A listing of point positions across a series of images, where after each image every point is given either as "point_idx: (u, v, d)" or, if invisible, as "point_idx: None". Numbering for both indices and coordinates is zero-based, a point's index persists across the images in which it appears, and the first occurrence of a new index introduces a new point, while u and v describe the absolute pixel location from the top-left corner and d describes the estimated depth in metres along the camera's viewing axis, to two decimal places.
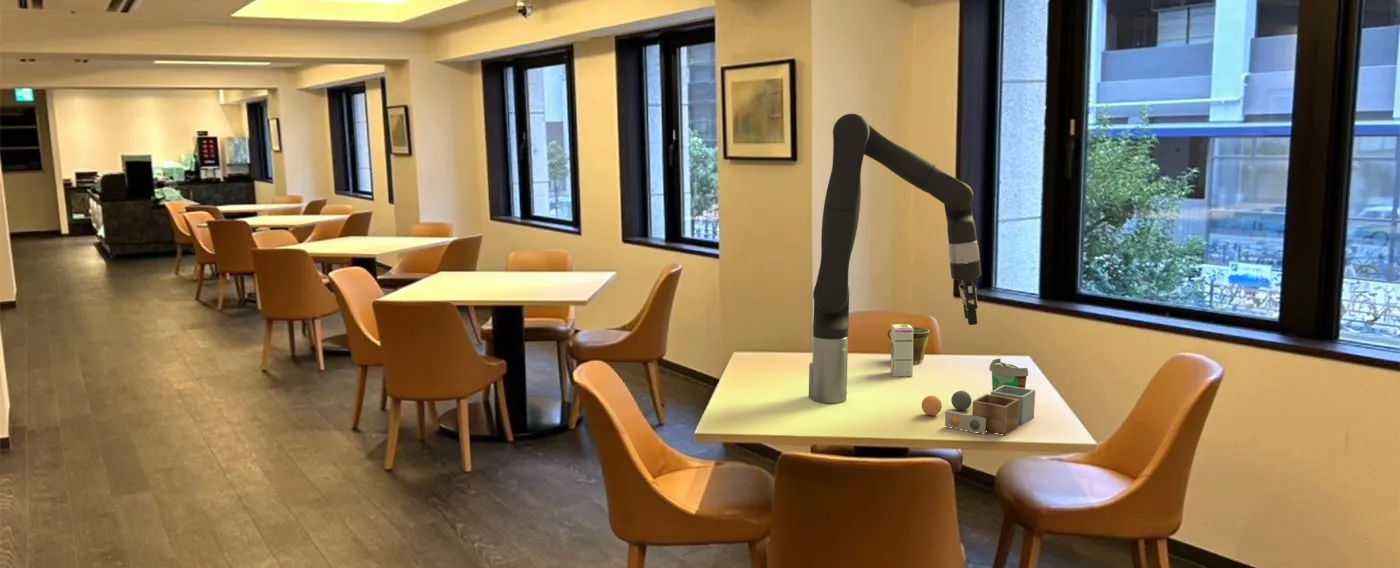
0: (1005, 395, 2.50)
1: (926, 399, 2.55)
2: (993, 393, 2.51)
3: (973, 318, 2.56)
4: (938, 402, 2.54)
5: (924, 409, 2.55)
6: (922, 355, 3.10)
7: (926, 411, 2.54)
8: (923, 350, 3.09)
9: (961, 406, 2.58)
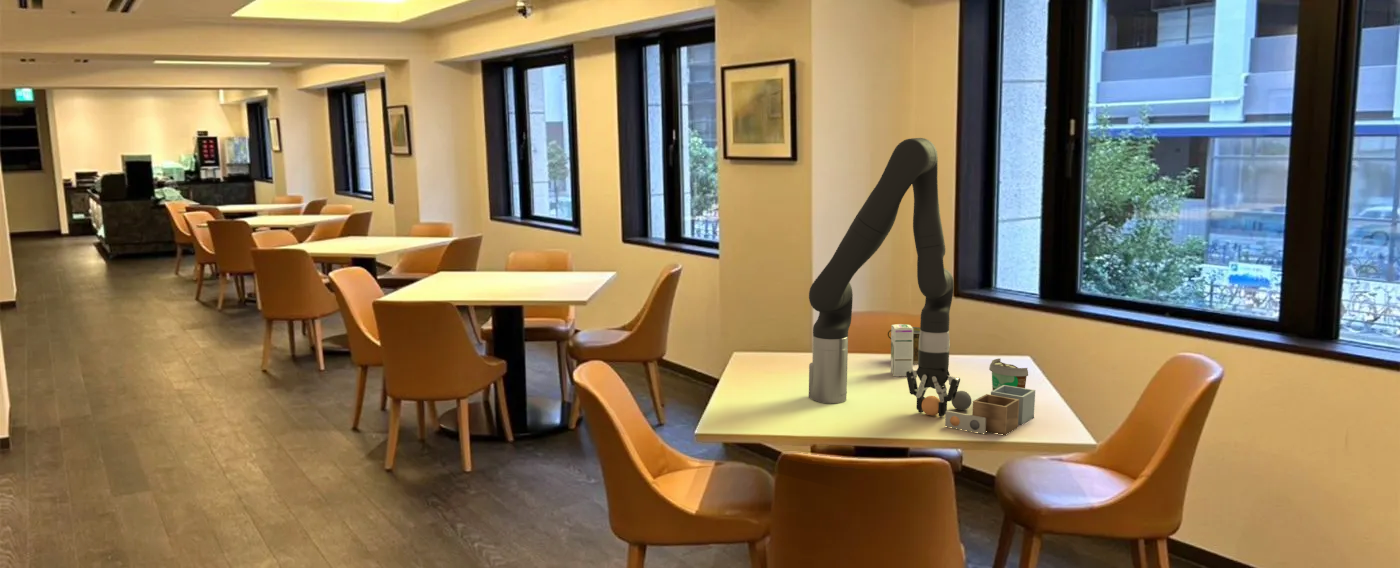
0: (1005, 395, 2.50)
1: (926, 399, 2.55)
2: (993, 393, 2.51)
3: (945, 409, 2.54)
4: (938, 402, 2.54)
5: (924, 409, 2.55)
6: None
7: (926, 411, 2.54)
8: None
9: (961, 406, 2.58)
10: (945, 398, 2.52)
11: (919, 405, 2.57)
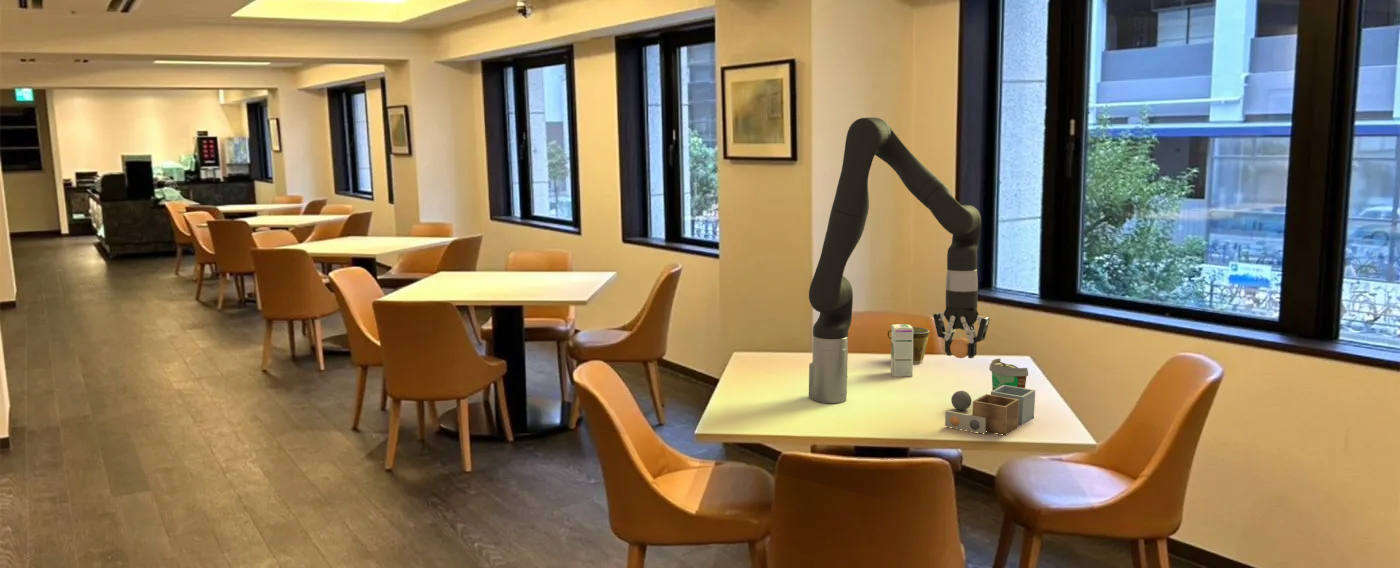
0: (1005, 395, 2.50)
1: (955, 341, 2.48)
2: (993, 393, 2.51)
3: (975, 350, 2.46)
4: (967, 343, 2.47)
5: (953, 351, 2.48)
6: (922, 355, 3.10)
7: (955, 353, 2.47)
8: (923, 350, 3.09)
9: (961, 406, 2.58)
10: (975, 339, 2.45)
11: (948, 348, 2.49)
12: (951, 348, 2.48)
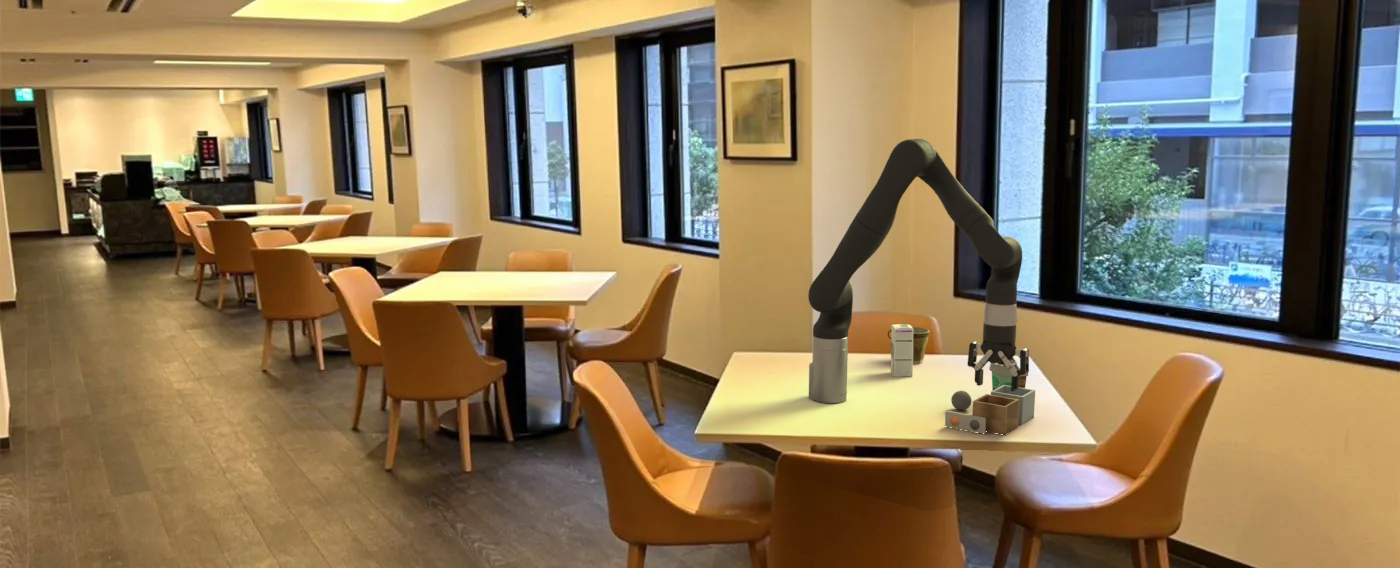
0: (1005, 395, 2.50)
1: None
2: (993, 393, 2.51)
3: (1018, 384, 2.40)
4: None
5: None
6: (922, 355, 3.10)
7: None
8: (923, 350, 3.09)
9: (961, 406, 2.58)
10: (1018, 371, 2.39)
11: (978, 378, 2.45)
12: None
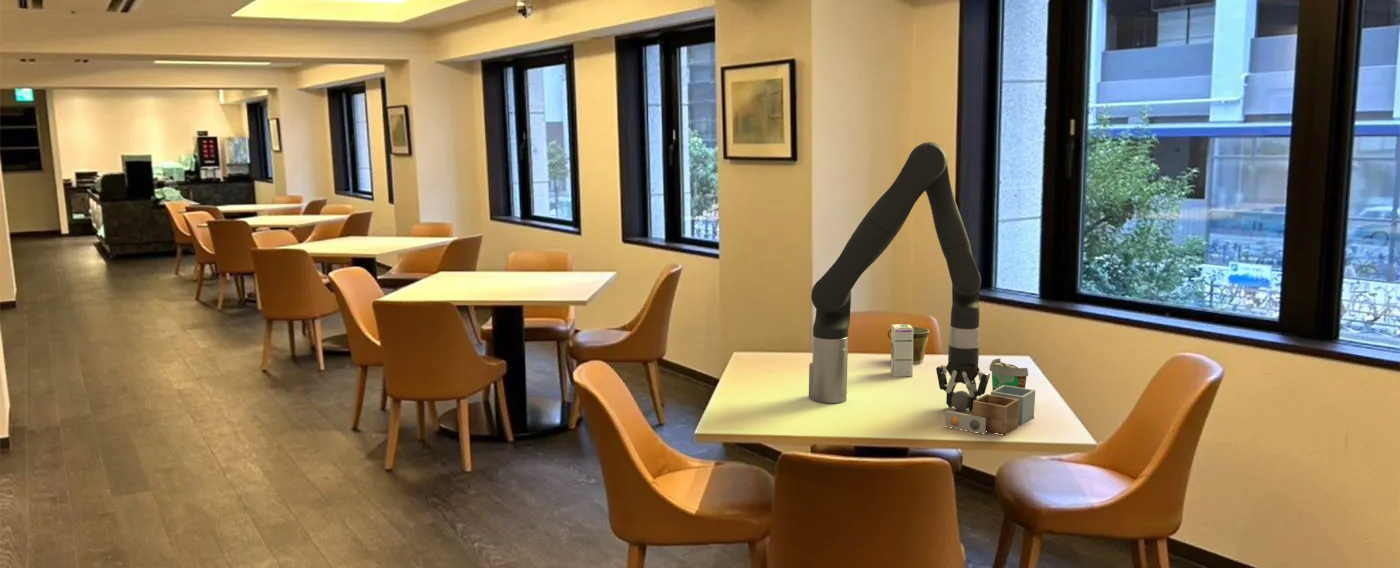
0: (1005, 395, 2.50)
1: None
2: (993, 393, 2.51)
3: None
4: None
5: None
6: (922, 355, 3.10)
7: None
8: (923, 350, 3.09)
9: (961, 406, 2.58)
10: (975, 393, 2.57)
11: (949, 400, 2.61)
12: None
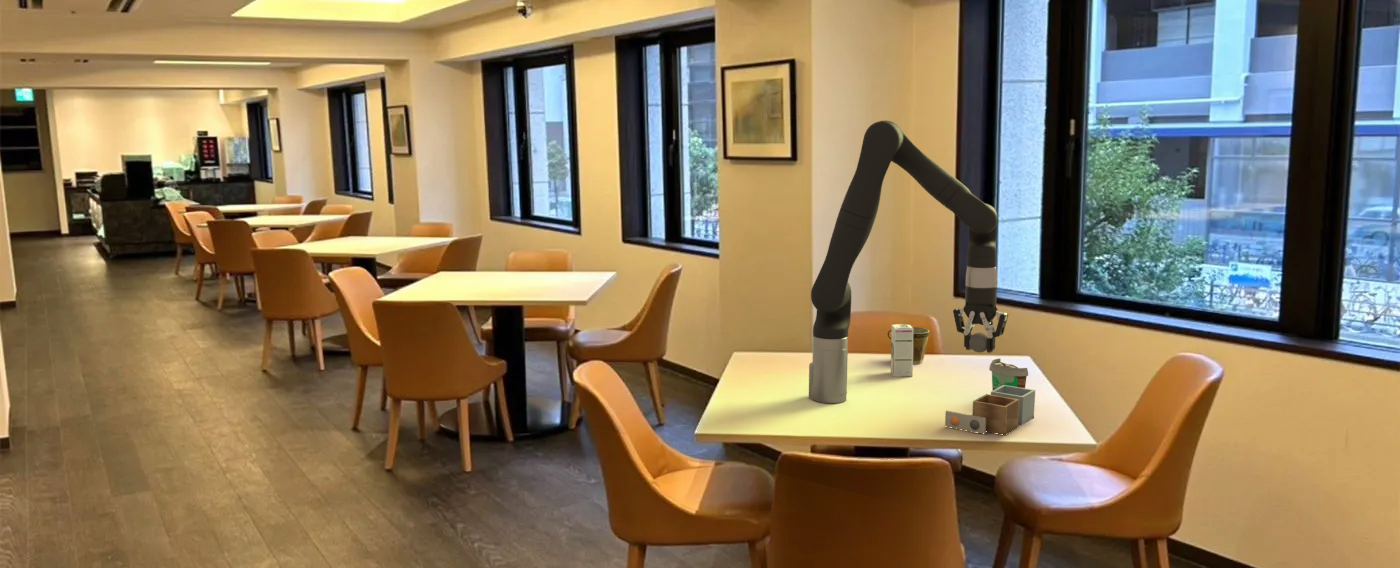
0: (1005, 395, 2.50)
1: None
2: (993, 393, 2.51)
3: (994, 345, 2.54)
4: None
5: None
6: (922, 355, 3.10)
7: None
8: (923, 350, 3.09)
9: (980, 348, 2.54)
10: (993, 334, 2.52)
11: (967, 342, 2.57)
12: None
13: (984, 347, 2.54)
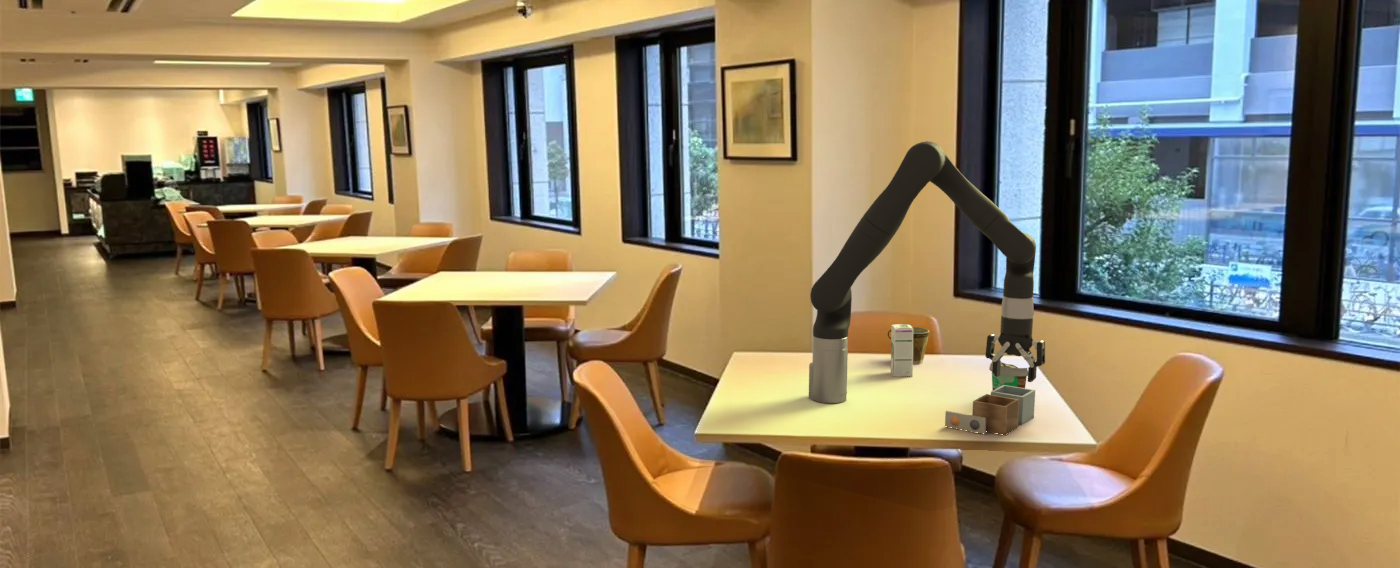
0: (1005, 395, 2.50)
1: None
2: (993, 393, 2.51)
3: (1035, 374, 2.49)
4: None
5: None
6: (922, 355, 3.10)
7: None
8: (923, 350, 3.09)
9: None
10: (1034, 362, 2.47)
11: (995, 369, 2.53)
12: None
13: None
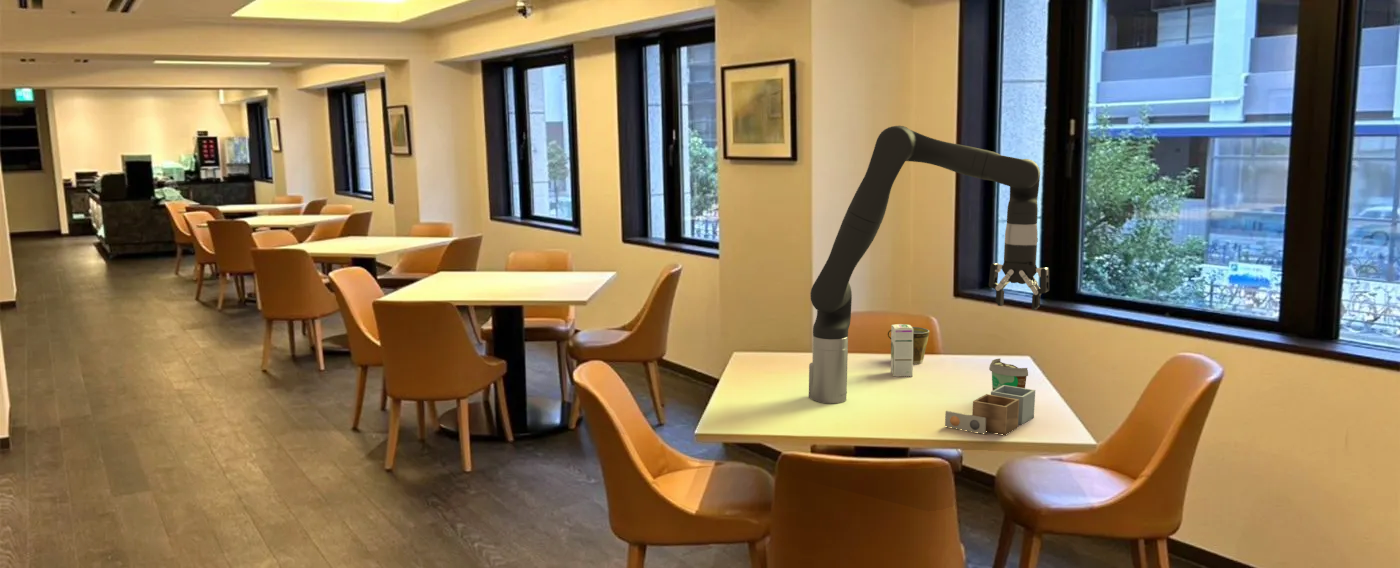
0: (1005, 395, 2.50)
1: None
2: (993, 393, 2.51)
3: (1039, 302, 2.46)
4: None
5: None
6: (922, 355, 3.10)
7: None
8: (923, 350, 3.09)
9: None
10: (1038, 289, 2.44)
11: (999, 298, 2.50)
12: None
13: None
